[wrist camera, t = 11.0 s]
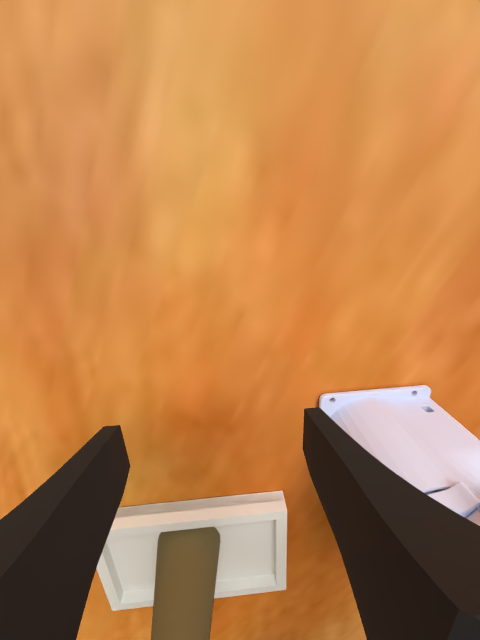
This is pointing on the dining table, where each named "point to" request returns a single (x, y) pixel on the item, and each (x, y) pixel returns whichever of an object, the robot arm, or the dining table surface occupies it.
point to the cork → (185, 584)
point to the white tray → (220, 512)
